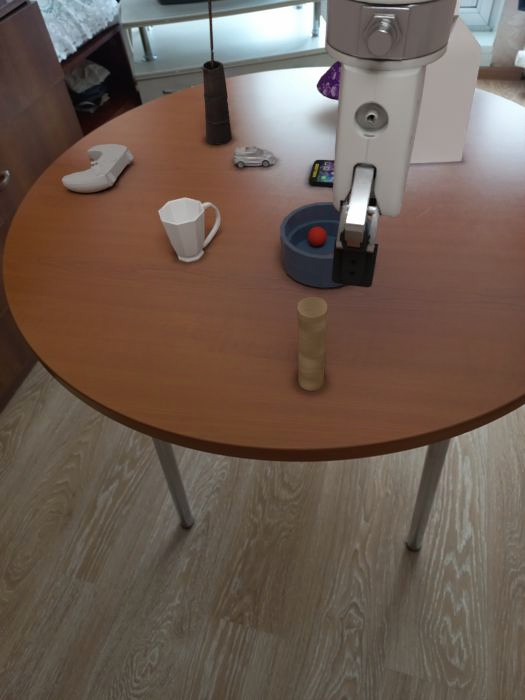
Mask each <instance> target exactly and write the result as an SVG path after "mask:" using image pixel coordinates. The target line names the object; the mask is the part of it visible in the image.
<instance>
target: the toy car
mask: <svg viewBox="0 0 525 700" xmlns="http://www.w3.org/2000/svg"><path fill="white" fill-rule="evenodd" d="M233 163H234V166H235V164H236V165H237V167H238V168H239V169H243V168H245V166H246V167H247V166H248V167H249V166H250V167H251V166H252V167H256V166H257V167H259V166H262V167H264V168H268V167H269V166H270V165H274V164H275V163H276V157H275V154H274V153H273V151H271V150H270V149H263V148H259V147H257V146H254V145H253V146H243V147H240V146H236V147H235V148H234V152H233Z"/></svg>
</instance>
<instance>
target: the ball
mask: <svg viewBox="0 0 525 700" xmlns="http://www.w3.org/2000/svg"><path fill="white" fill-rule="evenodd" d="M326 239H327V233H326V231H325V230H324V229H323V228H321V227H314V228H312V229H311V230H310V231H309V232H308V241H309V243H310V244H311V245H313V246H321V245H323V244H324V243H325V241H326Z"/></svg>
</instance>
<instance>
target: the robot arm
mask: <svg viewBox="0 0 525 700" xmlns="http://www.w3.org/2000/svg"><path fill="white" fill-rule="evenodd" d="M456 3H457V0H326V15H325V16H326V17H325V38H324V39H325V40H324V49H325V51H326V54H327V55H328V56H329V57H330V58H332V59H333V60H334V61H336V62H337V61H339V62H341V63H342V64H341V76H340V88H339V99H338V100H337V101H338V102H337V115H336V126H335V127H336V130H335V144H334V159H333V160H334V180H333V187H332V202H333V205H334V207H335V208H336V209H337V210H338V211H339V212H341V215H340V222H339V228H338V235H337V239H335V243H334V255H333V268H332V281H333V282H334V283H338V284H345V285H346V286H352V287H358V288H359V287H360V288H366V289H367V288H371V287H372V285H373V280H374V275H375V269H376V263H377V257H378V256H377V255H378V249H379V243H376V239H377V233H378V229H379V228H378V227H379V222H380V217H381V216H382V217H390V219H394V218H397V217H398V215H400V214H401V212H402V206H403V201H404V196H405V191H406V187H407V186H406V185H407V180H408V176H409V170H410V165H411V164H410V160H411V155H412V150H413V144H414V139H415V134H416V129H417V124H418V118H419V112H420V107H421V101H422V95H423V89H424V82H425V74H426V65H428V64H431V63H433V62H435V61H437V60H439V59H440V58H441V57H442V56H444V54H445V52H446V50H447V45H448V40H449V36H450V31H451V27H452V22H453V17H454V12H455V7H456ZM366 217H371V218H370V221H371V225H370V231H369V233H368V231H365V224H366ZM368 234H369V235H368ZM345 285H344V286H345Z"/></svg>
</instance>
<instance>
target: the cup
mask: <svg viewBox="0 0 525 700" xmlns="http://www.w3.org/2000/svg"><path fill="white" fill-rule="evenodd" d="M209 207H212V208H213V210H214V213H215V216H216V217H215V223H214V225H213V227H212V229H211V231H210V232H209V234H208V236H207V237H206V238H205V231H206V230H205V219H206V217H205V210H206V209H208V208H209ZM157 213H158V214H159V217H160V218H159V219H160V220H161V223H162V226H163V228H164V230H165V232H166V235H167V237H168V239H169V242H170V244H171V246H172V248H173V249H174V252H175V253H176V255H177V258H178V260H179V261H182V262H184V263H191V262H195V261H199V260H200V258H202V256H203V255H204V254H205V252H204V250H203V249H204V248H205V247H206V246H208V244H209V243H210V242H211V241H212V239H213V238H214V237H215V235H216V233H217V231H218V230H219V227H220V226H221V219H222V218H221V213H220V211H219V209H218V206H216V205H215V204H213V203H212V202H210V201H209V202H208V201H206V202H204V203H202V202H201V200H197V199H195V198H194V199H193V198H189V197H181V198H177V199H172V200H168V201H167V202H165V204H164V205H162V207H160V208H159V210H158V211H157Z"/></svg>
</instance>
